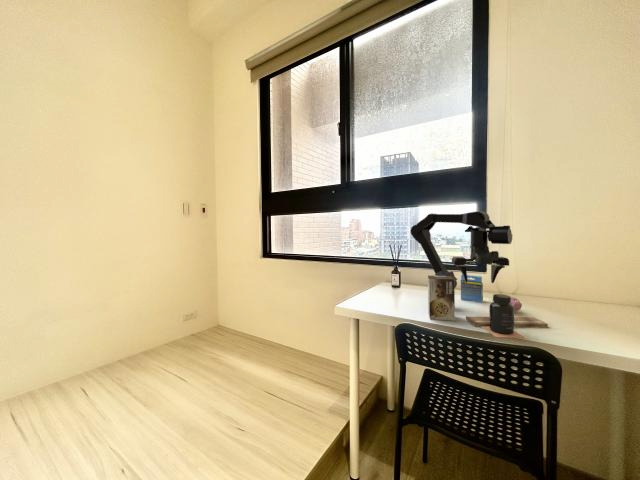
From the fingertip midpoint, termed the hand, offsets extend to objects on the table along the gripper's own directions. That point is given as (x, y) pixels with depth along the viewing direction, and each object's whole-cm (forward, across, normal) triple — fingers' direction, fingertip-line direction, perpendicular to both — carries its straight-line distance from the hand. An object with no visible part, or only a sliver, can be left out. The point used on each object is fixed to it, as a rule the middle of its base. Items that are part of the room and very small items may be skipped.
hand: (479, 282), depth 103 cm
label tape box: (+13, +3, +21) cm, 25 cm away
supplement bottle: (+13, +2, -17) cm, 21 cm away
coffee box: (+13, -15, -6) cm, 21 cm away
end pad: (+13, +2, -17) cm, 21 cm away
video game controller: (+13, +13, +8) cm, 20 cm away
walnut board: (+13, +6, -8) cm, 16 cm away
